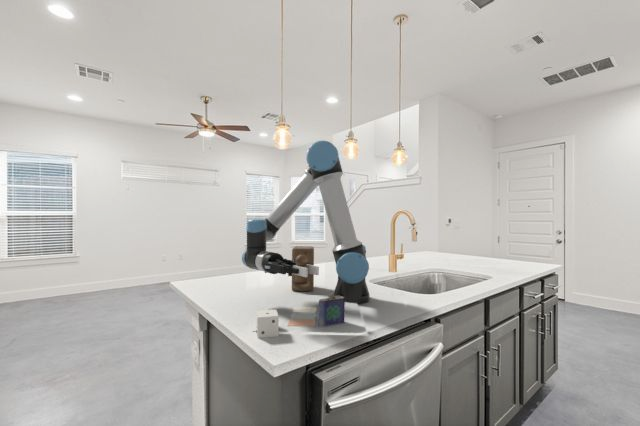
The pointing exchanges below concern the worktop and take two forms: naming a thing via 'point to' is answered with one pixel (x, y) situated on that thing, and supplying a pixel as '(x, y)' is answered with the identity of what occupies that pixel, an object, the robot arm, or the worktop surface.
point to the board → (302, 316)
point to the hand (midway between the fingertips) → (312, 271)
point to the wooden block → (309, 253)
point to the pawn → (299, 280)
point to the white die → (267, 323)
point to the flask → (331, 310)
